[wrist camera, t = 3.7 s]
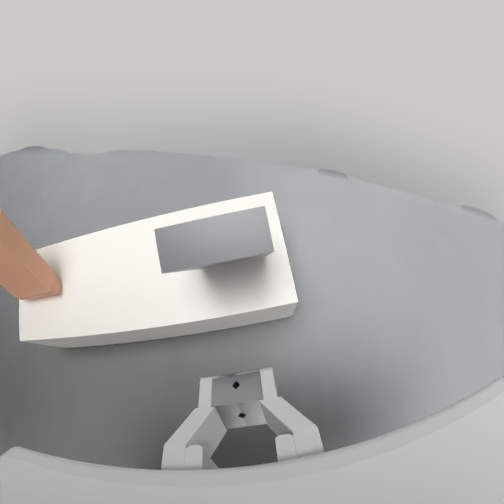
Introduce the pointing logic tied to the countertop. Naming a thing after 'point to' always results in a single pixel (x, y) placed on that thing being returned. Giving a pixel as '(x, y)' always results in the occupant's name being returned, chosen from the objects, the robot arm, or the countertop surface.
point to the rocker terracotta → (23, 265)
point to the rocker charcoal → (214, 240)
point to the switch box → (155, 286)
